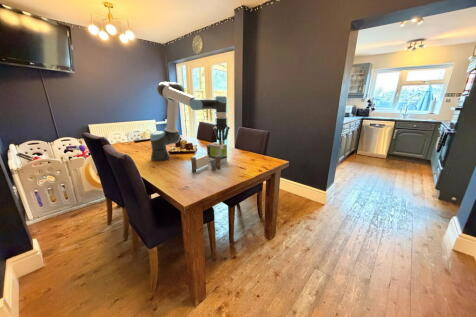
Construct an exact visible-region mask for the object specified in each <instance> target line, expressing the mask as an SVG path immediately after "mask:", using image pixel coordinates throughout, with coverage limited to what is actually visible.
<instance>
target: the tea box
mask: <svg viewBox="0 0 476 317" xmlns="http://www.w3.org/2000/svg"><path fill="white" fill-rule="evenodd" d="M206 153H207V154H206V155H208V159H209V162H211V160H214V159H215V160H216V157H215V156H217V155H219V156H220V164H223V163H227V162H228V145H227V144H226V143H224V144H223V149H221V148H220V144H219V142H217V141H216V142H210V143H207V144H206Z"/></svg>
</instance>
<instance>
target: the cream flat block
mask: <svg viewBox="0 0 476 317" xmlns="http://www.w3.org/2000/svg"><path fill="white" fill-rule="evenodd" d="M209 163H210V161H209V159H208V155H207V154H204V155H202V156H199V157H196V170H199V169H201V168H204V167H206V166H207V165H209Z"/></svg>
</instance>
